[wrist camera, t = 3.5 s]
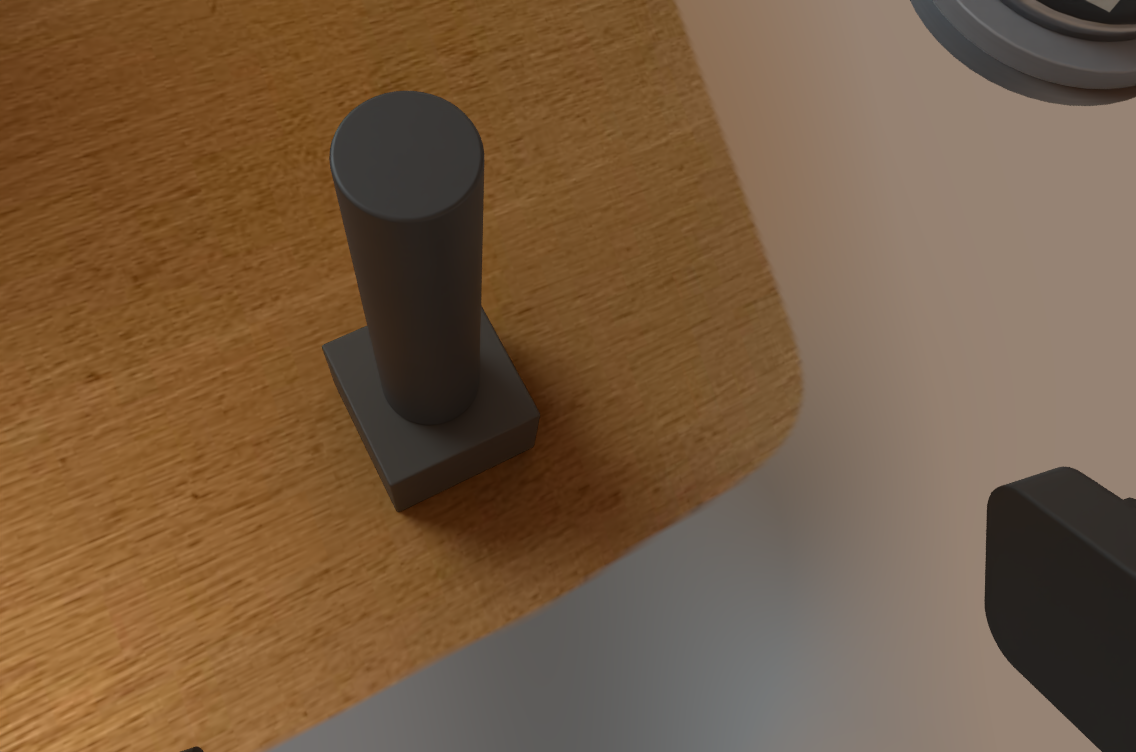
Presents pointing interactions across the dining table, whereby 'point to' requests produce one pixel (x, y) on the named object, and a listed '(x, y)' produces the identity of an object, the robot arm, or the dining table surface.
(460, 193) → the grey peg on base
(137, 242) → the dining table surface
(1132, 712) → the robot arm
